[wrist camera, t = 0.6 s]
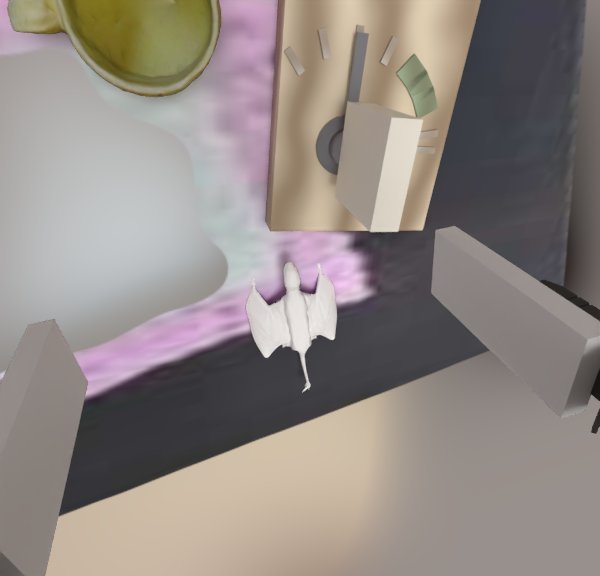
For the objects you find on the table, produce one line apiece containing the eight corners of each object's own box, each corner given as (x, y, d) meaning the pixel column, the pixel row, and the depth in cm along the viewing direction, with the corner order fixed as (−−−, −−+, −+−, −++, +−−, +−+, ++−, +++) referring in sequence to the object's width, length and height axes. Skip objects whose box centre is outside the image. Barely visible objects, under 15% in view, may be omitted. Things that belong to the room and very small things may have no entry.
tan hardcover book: (265, 221, 41) (271, 232, 39) (282, -65, 31) (290, -73, 28) (411, 221, 45) (423, 231, 43) (470, -31, 35) (491, -35, 32)
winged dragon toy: (340, 363, 54) (352, 386, 51) (263, 385, 52) (270, 409, 49) (328, 238, 44) (341, 255, 41) (233, 260, 43) (239, 279, 39)
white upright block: (311, 187, 38) (351, 232, 29) (328, 29, 32) (385, 25, 23) (362, 188, 39) (415, 231, 31) (387, 36, 33) (463, 35, 25)
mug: (240, -81, 28) (219, -58, 21) (227, 76, 35) (209, 132, 28) (45, -135, 26) (-47, -128, 19) (74, 43, 34) (14, 94, 27)
